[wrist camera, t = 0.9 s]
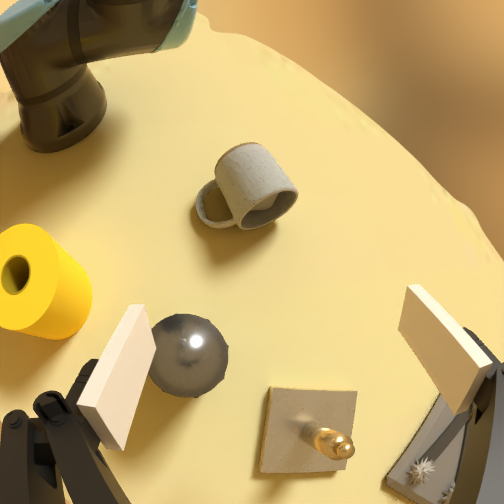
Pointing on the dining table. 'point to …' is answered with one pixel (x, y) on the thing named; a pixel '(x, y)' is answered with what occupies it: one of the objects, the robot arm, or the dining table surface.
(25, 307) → the tape roll
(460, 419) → the decorative plate
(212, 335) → the trash can
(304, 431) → the square metal stand
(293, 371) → the dining table surface
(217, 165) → the ceramic mug
